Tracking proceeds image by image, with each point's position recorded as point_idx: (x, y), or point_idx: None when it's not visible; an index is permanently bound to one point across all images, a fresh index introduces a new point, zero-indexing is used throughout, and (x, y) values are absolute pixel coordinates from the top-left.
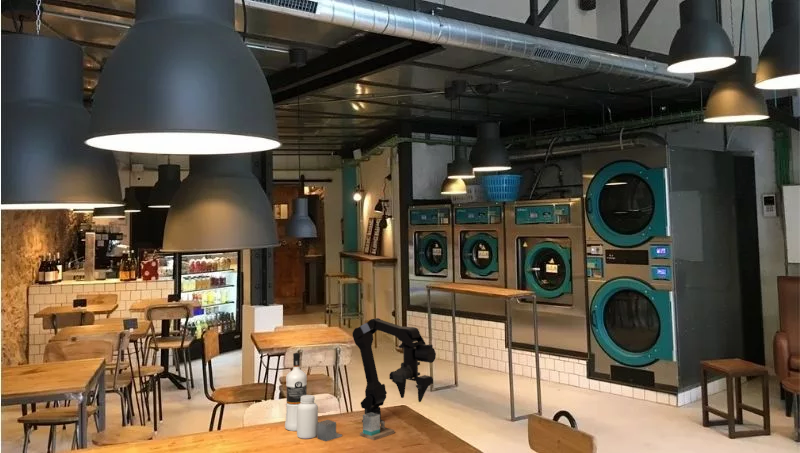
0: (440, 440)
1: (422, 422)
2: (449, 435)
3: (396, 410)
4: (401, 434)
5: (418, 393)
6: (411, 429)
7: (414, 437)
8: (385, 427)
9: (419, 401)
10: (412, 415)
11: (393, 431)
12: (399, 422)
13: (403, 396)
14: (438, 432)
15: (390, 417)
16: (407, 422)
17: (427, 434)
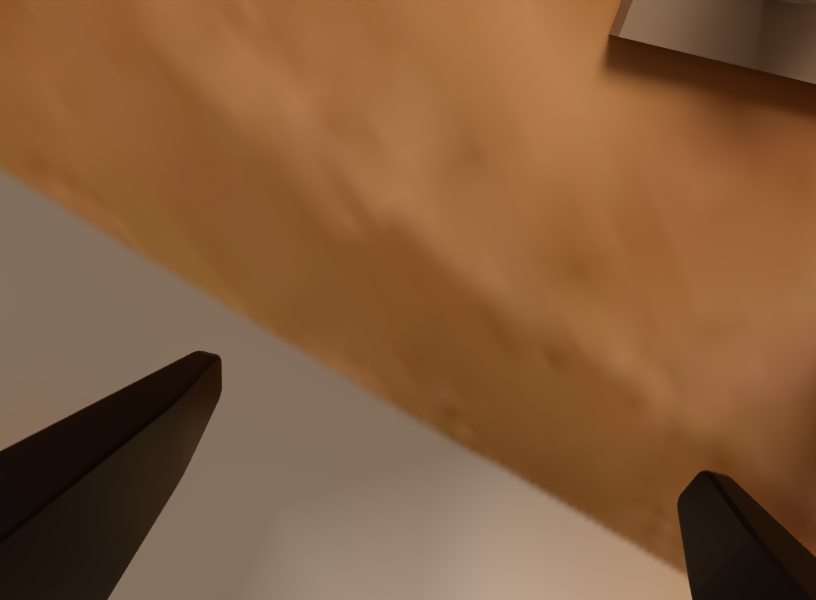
0: (73, 74)
1: (483, 416)
2: (122, 238)
3: None
4: (510, 36)
5: (19, 491)
6: (485, 236)
7: (328, 17)
8: (776, 70)
9: (189, 358)
10: (625, 511)
11: (622, 13)
12: (675, 357)
13: (688, 518)
14: (238, 265)
15: (804, 434)
16: (602, 379)
17: (278, 176)
